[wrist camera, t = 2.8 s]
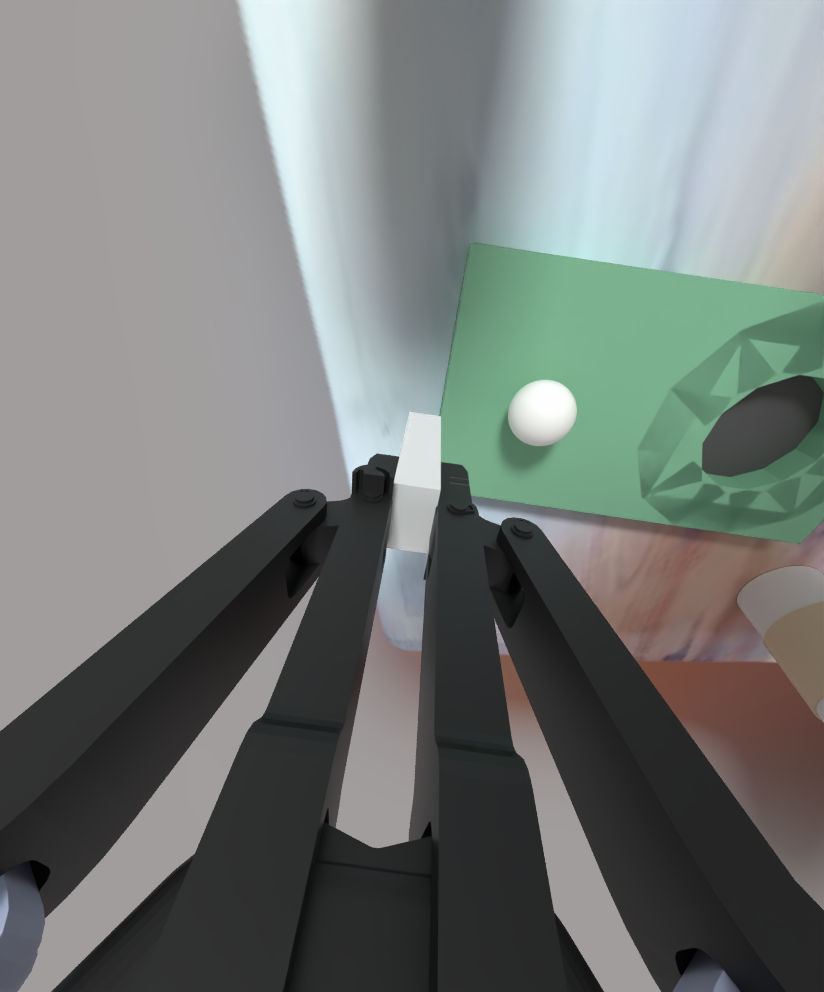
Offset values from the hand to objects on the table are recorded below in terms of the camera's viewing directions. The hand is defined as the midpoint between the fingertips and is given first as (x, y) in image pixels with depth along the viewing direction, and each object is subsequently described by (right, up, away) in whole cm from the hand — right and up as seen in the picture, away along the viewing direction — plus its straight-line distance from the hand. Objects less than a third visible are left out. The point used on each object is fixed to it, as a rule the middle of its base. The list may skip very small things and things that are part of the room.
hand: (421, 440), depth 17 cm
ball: (+8, +2, +5) cm, 9 cm away
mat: (+17, +3, +8) cm, 19 cm away
